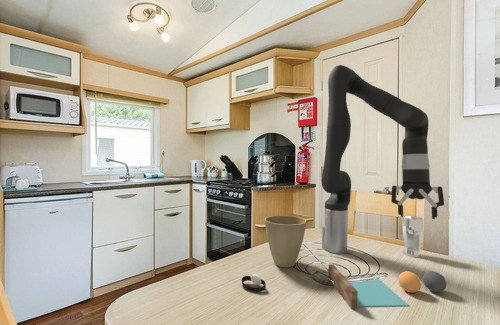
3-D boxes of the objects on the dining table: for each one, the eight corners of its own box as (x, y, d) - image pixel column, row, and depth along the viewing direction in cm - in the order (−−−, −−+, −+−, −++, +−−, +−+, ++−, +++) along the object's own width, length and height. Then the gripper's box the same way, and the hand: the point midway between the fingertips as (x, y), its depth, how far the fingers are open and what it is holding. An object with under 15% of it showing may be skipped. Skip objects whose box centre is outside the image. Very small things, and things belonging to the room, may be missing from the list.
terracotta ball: (395, 290, 72) (395, 271, 72) (402, 284, 75) (402, 266, 75) (417, 298, 68) (417, 278, 67) (423, 292, 71) (423, 273, 71)
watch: (268, 288, 73) (268, 276, 72) (261, 295, 68) (261, 282, 68) (246, 281, 76) (246, 269, 76) (237, 288, 72) (238, 275, 72)
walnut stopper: (357, 309, 62) (357, 291, 62) (351, 309, 62) (351, 291, 62) (333, 278, 78) (333, 264, 78) (328, 278, 78) (328, 264, 78)
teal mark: (356, 306, 63) (356, 305, 63) (335, 280, 77) (335, 279, 77) (409, 305, 64) (409, 305, 64) (378, 279, 78) (378, 279, 78)
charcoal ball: (420, 290, 72) (420, 271, 72) (426, 284, 76) (426, 266, 76) (443, 298, 68) (443, 278, 68) (448, 291, 71) (449, 272, 71)
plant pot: (314, 267, 86) (315, 222, 86) (278, 275, 80) (279, 226, 80) (289, 252, 100) (290, 213, 100) (256, 259, 93) (257, 216, 93)
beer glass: (426, 258, 96) (426, 220, 95) (406, 257, 97) (406, 218, 97) (417, 252, 102) (418, 216, 102) (399, 250, 104) (399, 215, 104)
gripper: (441, 168, 81) (443, 218, 80) (391, 168, 89) (393, 214, 88) (443, 167, 75) (445, 221, 74) (389, 168, 83) (391, 217, 82)
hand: (417, 217), depth 81 cm, fingers open, 8 cm apart
